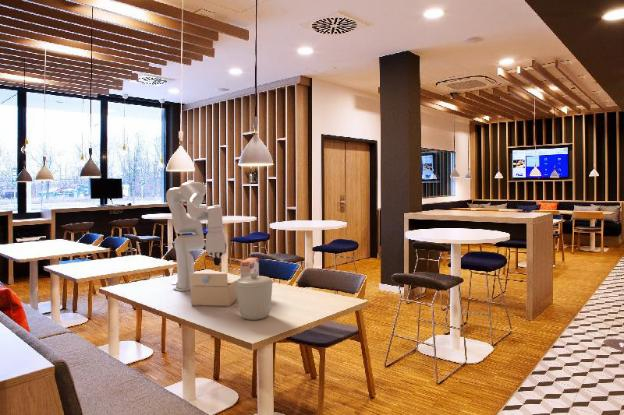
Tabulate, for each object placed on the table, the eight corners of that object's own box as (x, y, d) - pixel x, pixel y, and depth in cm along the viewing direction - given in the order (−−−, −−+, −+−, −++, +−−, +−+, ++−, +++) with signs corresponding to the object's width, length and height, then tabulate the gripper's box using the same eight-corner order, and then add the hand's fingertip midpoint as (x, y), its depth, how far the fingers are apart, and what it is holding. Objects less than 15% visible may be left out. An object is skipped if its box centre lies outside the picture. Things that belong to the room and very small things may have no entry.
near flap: (191, 285, 229) (186, 288, 223) (190, 273, 228) (185, 276, 222) (227, 285, 225) (223, 289, 220) (227, 273, 224) (222, 277, 219)
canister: (274, 322, 200) (273, 274, 198) (233, 324, 198) (231, 276, 197) (274, 310, 218) (273, 267, 216) (237, 312, 216) (235, 268, 215)
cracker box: (251, 301, 234) (250, 261, 233) (240, 301, 235) (239, 261, 234) (260, 294, 248) (258, 257, 246) (249, 294, 249) (248, 257, 248)
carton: (191, 305, 229) (190, 285, 228) (201, 299, 242) (201, 279, 241) (229, 306, 226) (228, 285, 225) (237, 299, 238) (236, 280, 238)
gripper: (199, 231, 233) (200, 266, 234) (226, 230, 231) (228, 266, 232) (204, 229, 241) (206, 264, 242) (231, 229, 238) (233, 263, 239)
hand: (217, 265), depth 237 cm, fingers closed
